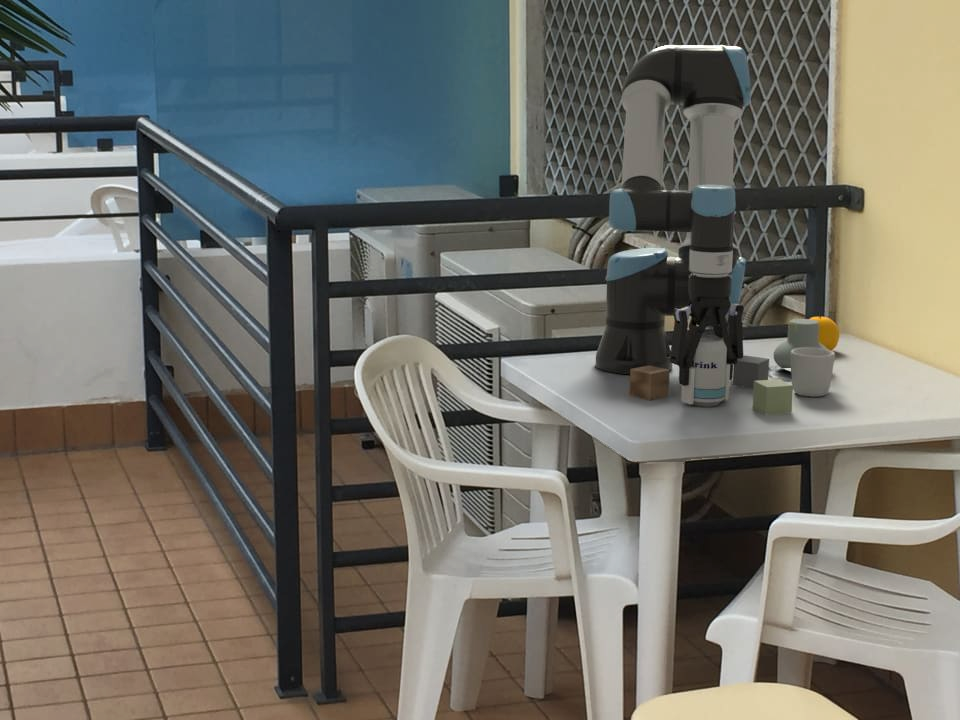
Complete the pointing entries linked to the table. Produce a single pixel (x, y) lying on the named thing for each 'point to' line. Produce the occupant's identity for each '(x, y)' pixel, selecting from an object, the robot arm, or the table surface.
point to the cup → (811, 370)
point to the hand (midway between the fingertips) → (704, 400)
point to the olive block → (772, 396)
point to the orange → (827, 332)
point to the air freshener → (797, 340)
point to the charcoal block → (750, 371)
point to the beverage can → (709, 371)
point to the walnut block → (649, 382)
